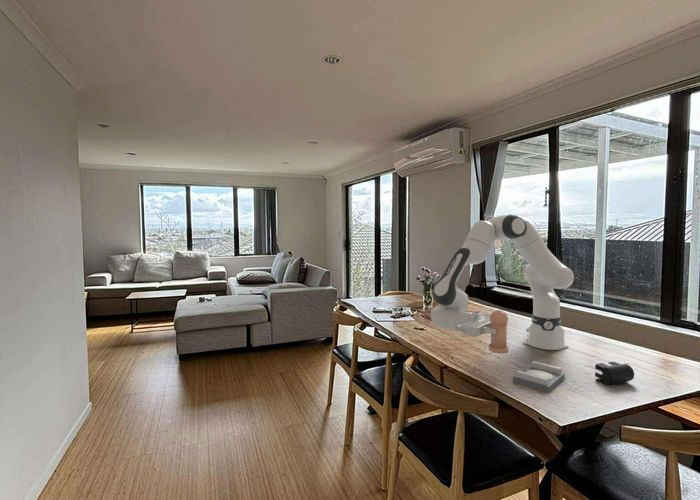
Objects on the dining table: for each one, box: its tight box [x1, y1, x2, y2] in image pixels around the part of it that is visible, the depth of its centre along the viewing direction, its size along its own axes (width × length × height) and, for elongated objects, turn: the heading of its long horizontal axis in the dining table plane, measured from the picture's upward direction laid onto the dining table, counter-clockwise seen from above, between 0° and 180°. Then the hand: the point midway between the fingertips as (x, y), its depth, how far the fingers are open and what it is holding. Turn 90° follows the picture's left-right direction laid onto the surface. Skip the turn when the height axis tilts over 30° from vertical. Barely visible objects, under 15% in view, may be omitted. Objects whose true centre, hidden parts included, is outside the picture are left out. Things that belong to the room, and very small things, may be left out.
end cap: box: [594, 361, 635, 386], centre depth 133 cm, size 10×7×7 cm
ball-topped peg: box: [488, 309, 509, 354], centre depth 140 cm, size 7×7×15 cm
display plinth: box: [512, 360, 566, 393], centre depth 135 cm, size 16×12×4 cm
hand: (501, 329), depth 139 cm, fingers closed on ball-topped peg, 6 cm apart
